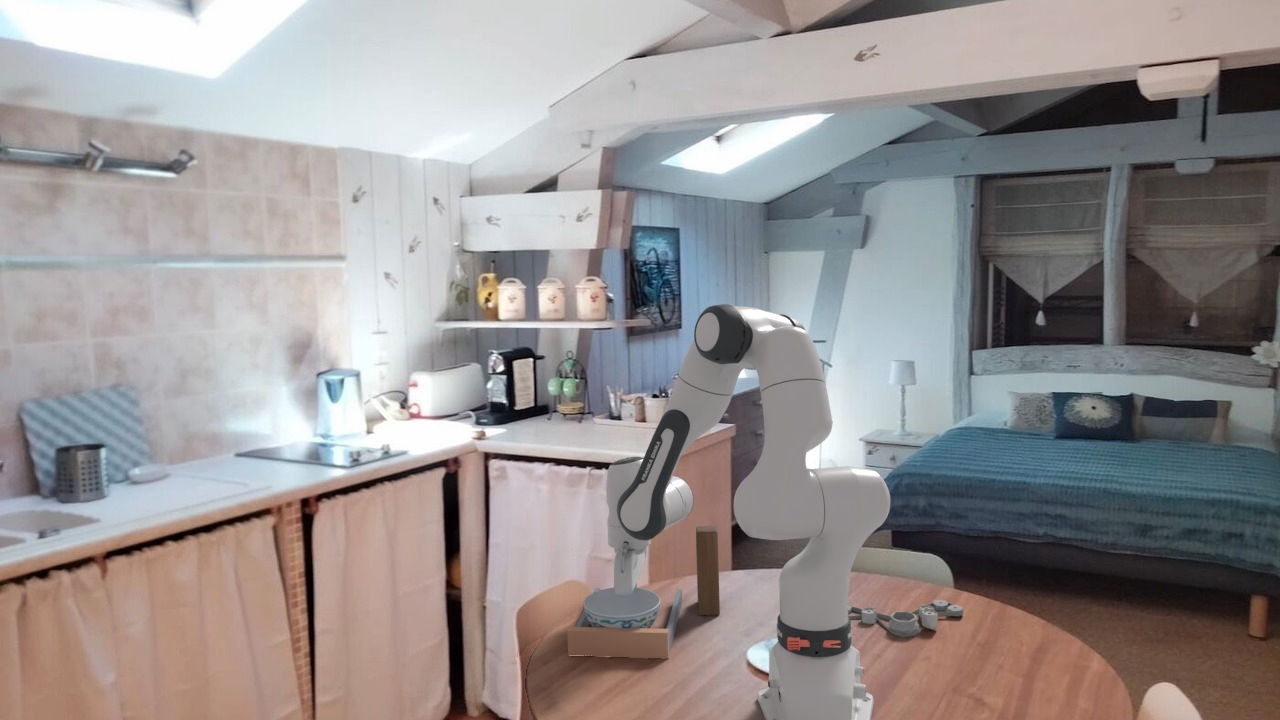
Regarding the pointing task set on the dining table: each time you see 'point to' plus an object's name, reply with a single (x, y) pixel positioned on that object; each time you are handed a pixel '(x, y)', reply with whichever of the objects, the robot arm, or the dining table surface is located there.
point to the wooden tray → (624, 638)
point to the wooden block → (707, 570)
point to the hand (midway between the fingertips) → (631, 600)
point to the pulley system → (909, 617)
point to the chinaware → (622, 608)
